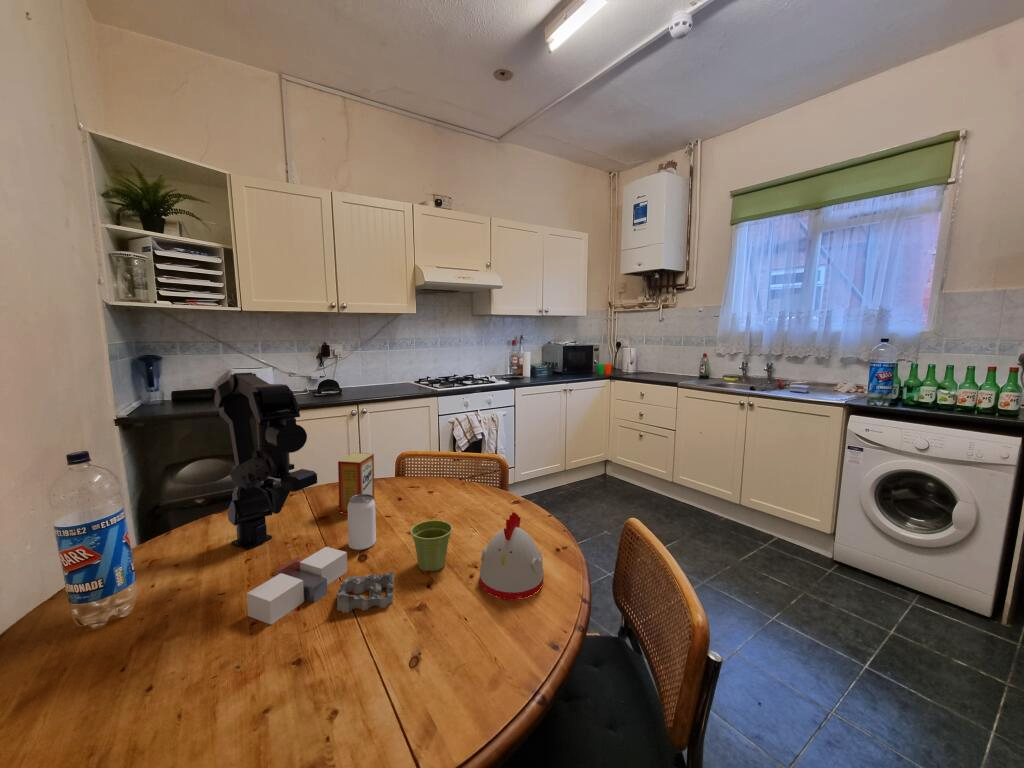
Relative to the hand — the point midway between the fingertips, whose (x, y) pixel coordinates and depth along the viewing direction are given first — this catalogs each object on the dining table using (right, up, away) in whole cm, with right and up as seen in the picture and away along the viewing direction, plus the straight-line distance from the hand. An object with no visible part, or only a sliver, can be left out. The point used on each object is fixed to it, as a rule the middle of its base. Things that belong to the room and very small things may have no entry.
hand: (276, 513), depth 89 cm
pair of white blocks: (+9, -14, -6) cm, 18 cm away
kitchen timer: (+52, -15, -1) cm, 54 cm away
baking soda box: (+4, -10, +35) cm, 36 cm away
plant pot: (+33, -14, +4) cm, 36 cm away
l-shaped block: (+10, -14, -7) cm, 19 cm away
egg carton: (+23, -15, -8) cm, 28 cm away
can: (+14, -12, +13) cm, 23 cm away
